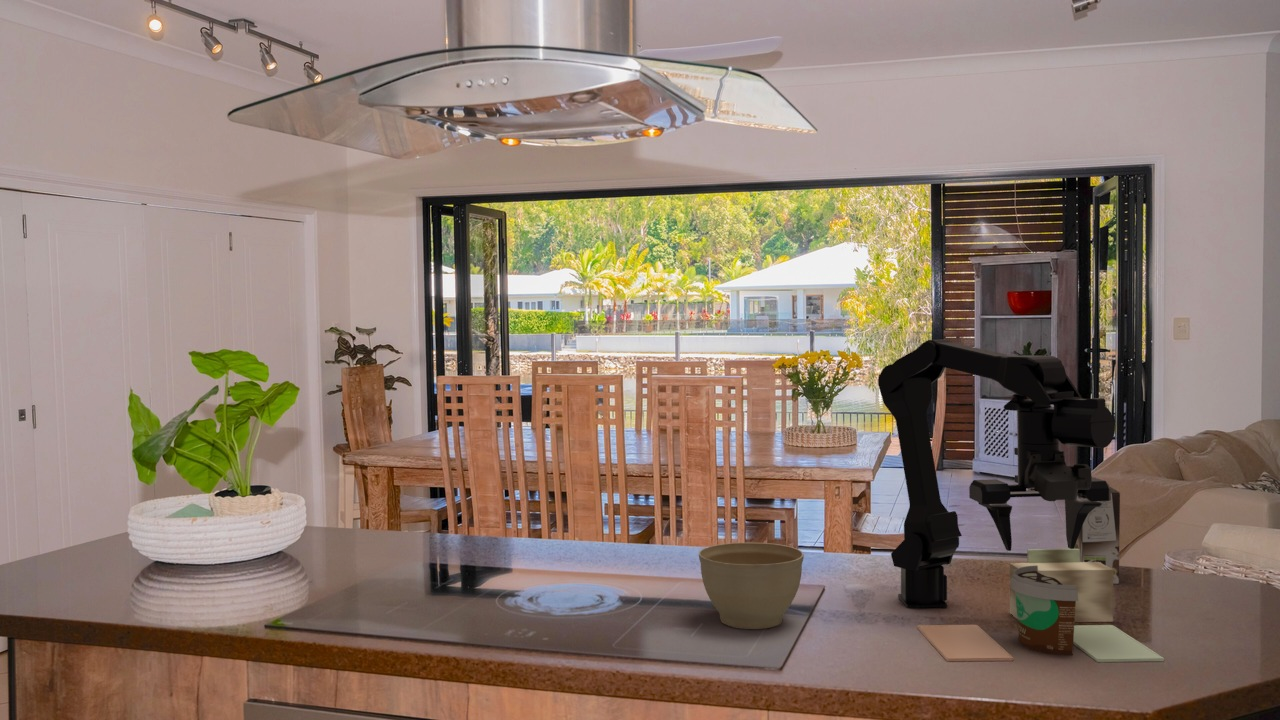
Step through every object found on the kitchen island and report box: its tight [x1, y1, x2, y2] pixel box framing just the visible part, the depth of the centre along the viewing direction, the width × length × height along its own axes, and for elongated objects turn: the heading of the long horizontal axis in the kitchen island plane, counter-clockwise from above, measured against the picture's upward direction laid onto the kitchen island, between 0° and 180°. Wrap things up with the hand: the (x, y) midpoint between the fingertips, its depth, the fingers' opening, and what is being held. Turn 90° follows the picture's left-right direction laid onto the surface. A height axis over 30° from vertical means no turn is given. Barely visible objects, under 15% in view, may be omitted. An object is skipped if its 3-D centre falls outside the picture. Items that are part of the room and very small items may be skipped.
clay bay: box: [916, 624, 1014, 662], centre depth 146 cm, size 9×15×1 cm, turn 0°
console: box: [1009, 548, 1114, 623], centre depth 158 cm, size 14×6×10 cm, turn 90°
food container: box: [1009, 566, 1078, 656], centre depth 144 cm, size 12×6×10 cm, turn 5°
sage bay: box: [1073, 624, 1165, 663], centre depth 145 cm, size 9×15×1 cm, turn 0°
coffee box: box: [1074, 486, 1121, 585], centre depth 181 cm, size 9×6×16 cm
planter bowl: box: [698, 542, 805, 630], centre depth 157 cm, size 16×16×11 cm
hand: (1039, 549), depth 148 cm, fingers open, 9 cm apart
